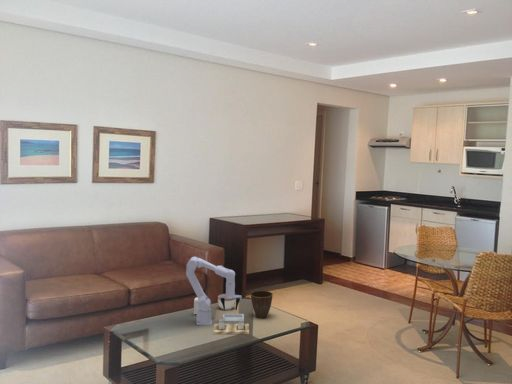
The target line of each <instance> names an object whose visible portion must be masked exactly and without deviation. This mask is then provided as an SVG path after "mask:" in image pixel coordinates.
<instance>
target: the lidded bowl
mask: <svg viewBox="0 0 512 384" xmlns="http://www.w3.org/2000/svg"><path fill="white" fill-rule="evenodd" d="M220 295H226V293H222V294H220ZM217 304H218V306H219V308H220V309H221V310H222V309H223V310H222V311H231V310H232V309H233V308H234V307H235V306H236V299H225V310H224V308H223V305H222V302H221V299H219V295H217Z"/></svg>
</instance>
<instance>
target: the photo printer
mask: <svg viewBox="0 0 512 384" xmlns="http://www.w3.org/2000/svg"><path fill="white" fill-rule="evenodd" d="M193 300H194V301H193V315H194V314H197V310H200V304H199V300H198V297H197V296H196V297H195V298H194V299H193Z"/></svg>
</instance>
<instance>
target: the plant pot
mask: <svg viewBox="0 0 512 384" xmlns="http://www.w3.org/2000/svg"><path fill="white" fill-rule="evenodd" d="M273 296H274V295H273V292H270V291H267V290H256V291H253V292H251V293H250V301H251V304H252V310H253V312H254V315H255V317H256V318H258V319H267V318H268V315H269V313H270V310H271V306H272V300H273Z"/></svg>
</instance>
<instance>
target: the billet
mask: <svg viewBox="0 0 512 384" xmlns="http://www.w3.org/2000/svg"><path fill="white" fill-rule="evenodd" d="M218 324H219V327H218V330H226V327H225V319H223V318H218Z"/></svg>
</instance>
